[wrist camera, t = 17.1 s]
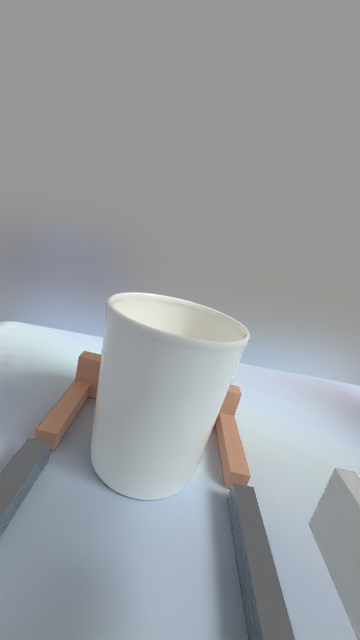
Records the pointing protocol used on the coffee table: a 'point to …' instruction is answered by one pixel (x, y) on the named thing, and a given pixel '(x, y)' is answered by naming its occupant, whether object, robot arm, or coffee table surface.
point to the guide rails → (247, 528)
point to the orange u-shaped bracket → (87, 387)
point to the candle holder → (160, 390)
